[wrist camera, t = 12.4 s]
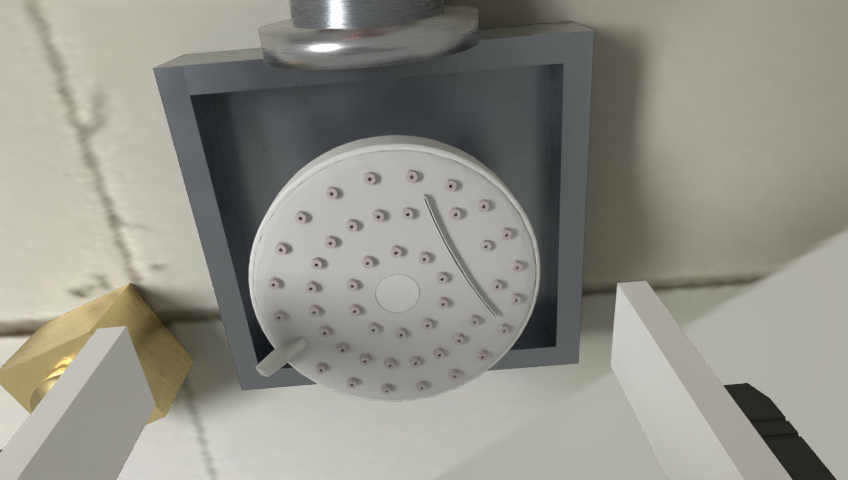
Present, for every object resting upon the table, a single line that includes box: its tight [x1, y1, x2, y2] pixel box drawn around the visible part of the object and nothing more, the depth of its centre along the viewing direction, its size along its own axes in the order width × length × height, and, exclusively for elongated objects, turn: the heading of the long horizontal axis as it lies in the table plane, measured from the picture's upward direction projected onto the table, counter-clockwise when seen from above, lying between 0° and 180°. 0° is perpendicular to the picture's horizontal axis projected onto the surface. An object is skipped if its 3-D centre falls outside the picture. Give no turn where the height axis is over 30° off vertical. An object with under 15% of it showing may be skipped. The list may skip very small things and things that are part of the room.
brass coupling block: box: [0, 283, 194, 425], centre depth 26 cm, size 5×5×5 cm
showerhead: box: [249, 135, 540, 402], centre depth 21 cm, size 9×7×10 cm
